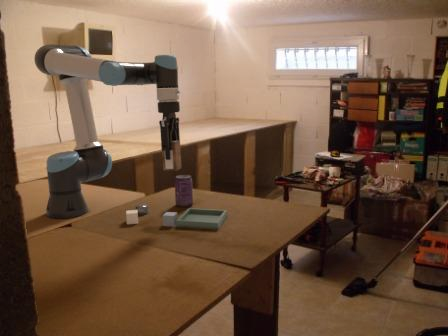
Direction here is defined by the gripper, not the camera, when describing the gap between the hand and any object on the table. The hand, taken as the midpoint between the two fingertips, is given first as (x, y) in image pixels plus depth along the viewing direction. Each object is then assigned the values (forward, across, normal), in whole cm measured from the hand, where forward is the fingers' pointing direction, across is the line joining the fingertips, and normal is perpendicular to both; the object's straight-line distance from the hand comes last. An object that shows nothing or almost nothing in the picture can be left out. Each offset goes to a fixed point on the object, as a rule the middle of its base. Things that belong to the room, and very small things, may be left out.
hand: (172, 166), depth 154 cm
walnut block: (+1, 0, 0) cm, 1 cm away
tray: (+20, +1, -10) cm, 23 cm away
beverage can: (+20, +20, +3) cm, 28 cm away
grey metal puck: (+20, +6, +16) cm, 26 cm away
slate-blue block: (+20, -4, 0) cm, 21 cm away
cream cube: (+20, -5, +15) cm, 25 cm away
